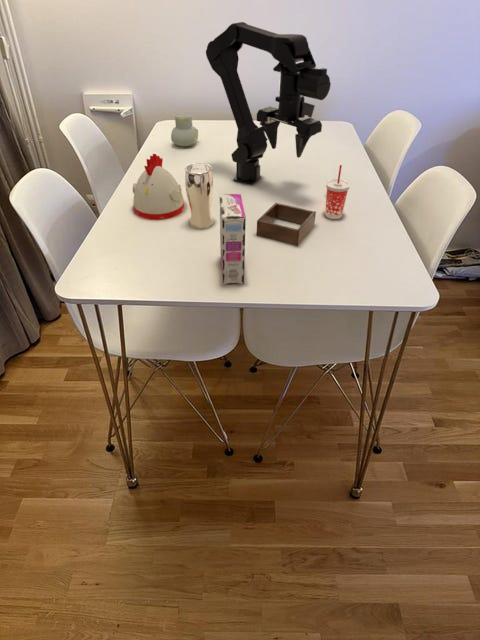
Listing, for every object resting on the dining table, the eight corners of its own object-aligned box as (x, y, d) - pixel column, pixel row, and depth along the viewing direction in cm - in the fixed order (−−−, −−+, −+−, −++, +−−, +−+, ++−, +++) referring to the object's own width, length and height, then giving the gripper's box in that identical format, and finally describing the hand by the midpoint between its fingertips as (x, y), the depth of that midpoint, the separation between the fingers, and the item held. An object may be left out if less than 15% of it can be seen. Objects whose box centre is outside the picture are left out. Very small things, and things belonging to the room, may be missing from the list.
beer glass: (218, 219, 124) (216, 164, 114) (208, 231, 119) (206, 175, 109) (194, 215, 126) (191, 161, 116) (184, 227, 121) (179, 171, 111)
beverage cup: (345, 221, 123) (354, 170, 114) (322, 220, 124) (329, 169, 115) (343, 210, 128) (351, 160, 119) (321, 209, 128) (327, 160, 119)
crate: (256, 235, 117) (256, 220, 115) (274, 216, 125) (275, 202, 122) (297, 246, 113) (299, 231, 111) (314, 226, 121) (316, 211, 118)
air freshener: (177, 138, 172) (175, 110, 166) (199, 139, 171) (198, 111, 165) (170, 148, 164) (167, 119, 157) (193, 150, 163) (191, 120, 156)
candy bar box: (245, 284, 101) (246, 217, 91) (222, 285, 101) (221, 218, 90) (241, 257, 110) (241, 192, 99) (220, 258, 109) (218, 193, 99)
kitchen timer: (125, 214, 126) (115, 160, 116) (149, 194, 136) (142, 142, 126) (170, 223, 122) (164, 168, 113) (192, 201, 132) (188, 149, 122)
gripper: (338, 93, 118) (330, 154, 128) (283, 80, 128) (280, 137, 138) (310, 102, 112) (304, 165, 122) (255, 87, 122) (254, 147, 132)
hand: (286, 152), depth 129 cm, fingers open, 9 cm apart
